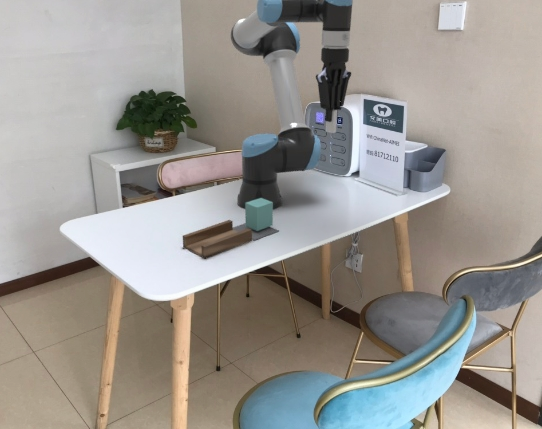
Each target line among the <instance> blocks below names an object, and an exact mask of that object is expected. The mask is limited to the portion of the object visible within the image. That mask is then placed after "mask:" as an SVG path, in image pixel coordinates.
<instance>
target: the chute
mask: <svg viewBox="0 0 542 429" xmlns="http://www.w3.org/2000/svg"><path fill="white" fill-rule="evenodd" d="M233 225H234V224H233V220H231V219H228V220H224V221H222V222H219V223H216V224H213V225H210V226H207V227H205V228H204V227H203V228H201V229H198V230H196V231H192V232H189V233H186V234H184V235H182V247H183V248H185V249H186V250H188V251H190V252H192V253H193V254H195V255H197V256H199V257H201V258H203V259H208V258H210V257H213V256H216V255H219V254H221V253H223V252H226V251H230V250H231V249H234V248H236V247H239V246H242V245H244V244H245V245H246V244H247V243H250V242H252V241H253V240H252V230H251V229H249V228H248V229H245V230H243V231H240V232H237V231H235V230H233V227H234V226H233Z"/></svg>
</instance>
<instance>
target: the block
mask: <svg viewBox="0 0 542 429" xmlns="http://www.w3.org/2000/svg"><path fill="white" fill-rule="evenodd" d="M244 210H245V216H244V218H245V219H244V220H245V222H244V223H245V226H247V227H249V228H251V229H253V230H256V231H259V230H261V229H264V228H267V227H269V226H270V227H272V226H273V222H274V221H273V219H274V216H273V214H274V213H273V212H274V209H273V202H271V201H268V200H265V199H263V198H259V199H256V200H253V201H250V202H247V203H245V209H244Z"/></svg>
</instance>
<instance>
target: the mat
mask: <svg viewBox="0 0 542 429" xmlns="http://www.w3.org/2000/svg"><path fill="white" fill-rule="evenodd" d="M248 228H249V227H247V226H245V222H244V223H241V224H239V225H236V226H233V230H235V231H237V232H240V231H243V230H245V229H248ZM249 229H251V228H249ZM251 230H252V241H254V242H255V241H259V240H260V239H263V238H266V237H268V236H270V235H273V234H275V233H278V232H280V230H278V229H276V228H275V227H272V226H269V227H267V228H264V229H261V230H259V231H256V230H253V229H251Z"/></svg>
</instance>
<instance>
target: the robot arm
mask: <svg viewBox="0 0 542 429" xmlns="http://www.w3.org/2000/svg"><path fill="white" fill-rule="evenodd" d="M353 3H354V1H353V0H257V3H256V9H255V10H254V11H253V12H252V13H251V14H249V16H247V17H246V18H241V19H239V20H238V21H236V23H234V24H233V26H232V28H231V30H230V41H231V44H232V45H233V47H234V48H235V50H237V51H239V52H240V53H241V54H243V55H246V56H250V57H262V58H263V59H262V60H263V62H264V64H265V65H266V66H269V73H270V78H271V82H272V83H271V84H272V89H273V93H274V99H275V105H276V112H277V116H278V121H279V126H280V131H279V132H278V133H277V135H276V134H275V133H269V132H268V133H265V132H264V133H263V132H262V133H257V134H253V135H250V136H247V137H246V138H245V139H244V140H243V141H242V145H241V146H242V147H241V158H242V159H241V164H242V165H241V168H242V170H241V172H242V174H241V175H242V180H241V181H242V182H241V185H240V188H239V193H238V194H237V199H236V200H237V202H236V203H237V206H238V207H240V208H241V209H243V210H245V203H247V202H250V201H253V200H256V199H259V198H263V199H265V200H268V201H271V202H273V210H275V209H277V208H280V207H281V205H282V203H283V202H282V201H283V200H282V194H281V192H280V188H279V185H278V184H279V183H278V180H277V179H278V178H277V177H278V174H281V173H292V172H294V173H295V172H305V171H310V170H314V169H315V168H316V167H317V166H318V164H319V162H320V161H321V160H320V158H321V154H322V144H321V140H320V138H319V136H318V135H316V134H313V132H312V129H311V127H309V125H306V120H305V116H304V110H303V104H302V99H301V96H300V95H301V94H300V89H299V85H298V79H297V74H296V69H295V63H294V60H296V59H297V54H298V53H299V51H300V48H301V47H300V46H301V43H300V42H301V36H300V33H299V29H298V28H297V26H296V24H295V23H322V30H321V31H322V32H321V45H322V46H323V47H322V48H321V50H320V51H321V52H320V53H321V54H320V55H321V56H320V60H321V62H322V63H323V64H322V65H323V66H322V69H321V72H320V73H319V74H315V80H316V81H317V82H316V83H317V87H318V97H319V104H320V108H321V109H323V110H325V132H326V133H330V134H335V133H337V121H338V114H339V111H340V110H342V107H344V105H345V104H344V103H345V101H346V100H345V99H346V94H347V90H348V84H349V80H350V79H351V76H352V72H351V71H348V70H347V65H346V63H348V62H349V56H350V48H348V47H349V46H350V40H351V39H350V37H351V27H352V26H351V25H352V12H353Z"/></svg>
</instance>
